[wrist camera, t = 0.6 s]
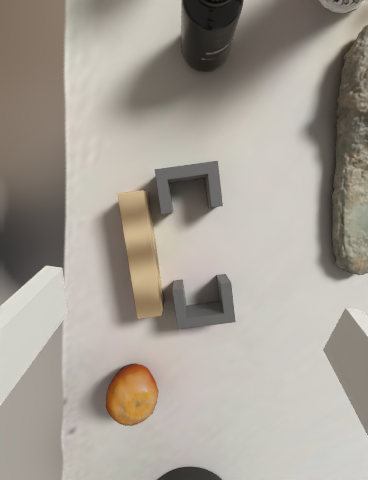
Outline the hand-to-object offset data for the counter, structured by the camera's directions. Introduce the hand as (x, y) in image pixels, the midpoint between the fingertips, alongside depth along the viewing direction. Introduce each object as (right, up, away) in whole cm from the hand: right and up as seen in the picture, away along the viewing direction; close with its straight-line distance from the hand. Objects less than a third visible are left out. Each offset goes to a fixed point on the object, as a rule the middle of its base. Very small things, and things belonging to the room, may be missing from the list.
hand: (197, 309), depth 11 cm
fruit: (-9, -21, +30) cm, 37 cm away
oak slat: (-7, +2, +27) cm, 28 cm away
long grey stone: (+26, +15, +25) cm, 39 cm away
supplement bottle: (+2, +31, +23) cm, 38 cm away
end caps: (+1, +3, +27) cm, 27 cm away
